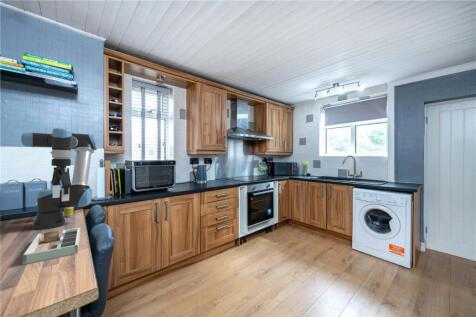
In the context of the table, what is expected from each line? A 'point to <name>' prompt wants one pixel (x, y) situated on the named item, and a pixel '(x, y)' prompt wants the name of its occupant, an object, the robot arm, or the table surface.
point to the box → (66, 247)
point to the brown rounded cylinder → (51, 237)
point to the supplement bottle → (68, 212)
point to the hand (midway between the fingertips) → (60, 199)
